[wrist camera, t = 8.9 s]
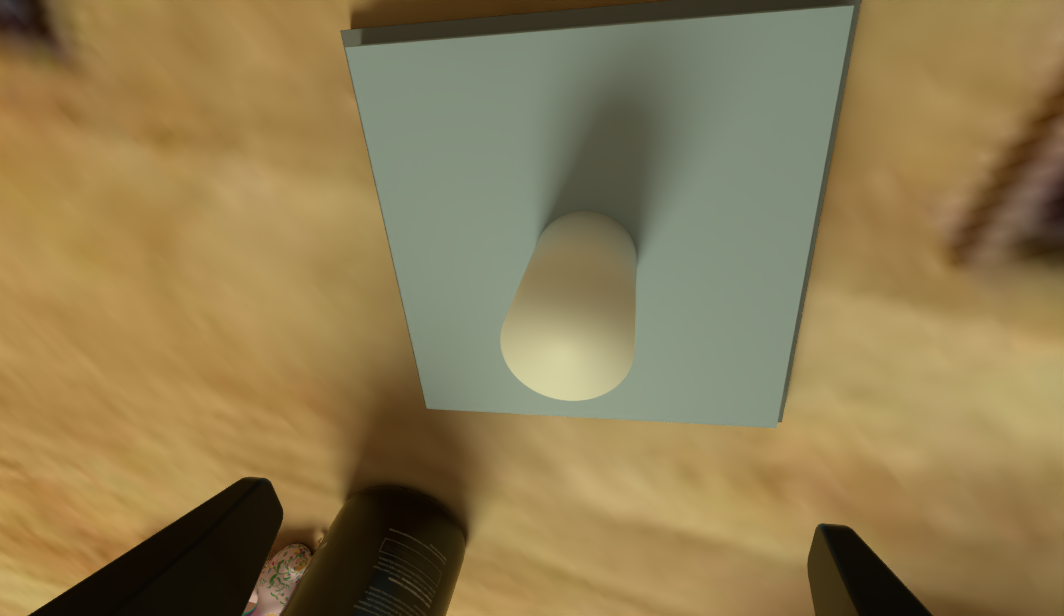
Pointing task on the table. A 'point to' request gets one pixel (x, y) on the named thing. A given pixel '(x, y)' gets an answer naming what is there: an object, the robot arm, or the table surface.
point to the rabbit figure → (278, 580)
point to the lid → (605, 209)
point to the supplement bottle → (383, 559)
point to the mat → (684, 4)
